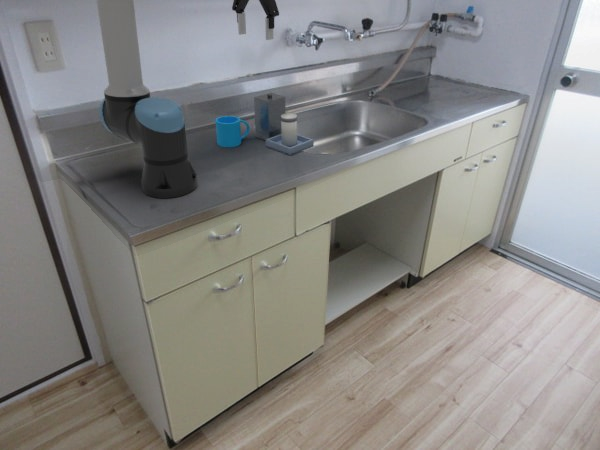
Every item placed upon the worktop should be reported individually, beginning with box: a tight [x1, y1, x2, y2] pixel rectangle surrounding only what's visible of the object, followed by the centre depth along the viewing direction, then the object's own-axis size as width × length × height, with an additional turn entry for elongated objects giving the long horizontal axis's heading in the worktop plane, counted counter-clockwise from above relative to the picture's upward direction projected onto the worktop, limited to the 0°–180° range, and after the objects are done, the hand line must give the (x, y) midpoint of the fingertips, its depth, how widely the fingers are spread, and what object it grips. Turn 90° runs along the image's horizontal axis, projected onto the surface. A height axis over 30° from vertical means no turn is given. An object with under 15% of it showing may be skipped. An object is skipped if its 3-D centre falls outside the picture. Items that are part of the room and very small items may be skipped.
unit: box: [253, 92, 286, 141], centre depth 159 cm, size 8×7×15 cm
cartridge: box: [281, 112, 298, 147], centre depth 152 cm, size 5×5×10 cm
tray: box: [265, 133, 315, 156], centre depth 154 cm, size 11×11×2 cm
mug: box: [215, 115, 251, 148], centre depth 156 cm, size 12×8×8 cm
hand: (255, 36), depth 153 cm, fingers open, 13 cm apart
